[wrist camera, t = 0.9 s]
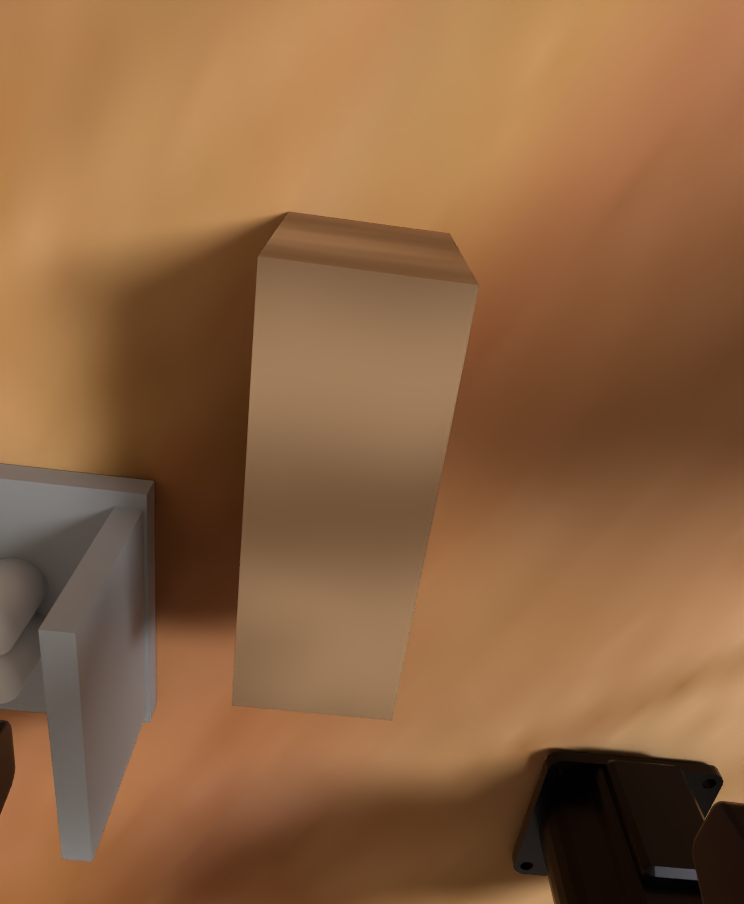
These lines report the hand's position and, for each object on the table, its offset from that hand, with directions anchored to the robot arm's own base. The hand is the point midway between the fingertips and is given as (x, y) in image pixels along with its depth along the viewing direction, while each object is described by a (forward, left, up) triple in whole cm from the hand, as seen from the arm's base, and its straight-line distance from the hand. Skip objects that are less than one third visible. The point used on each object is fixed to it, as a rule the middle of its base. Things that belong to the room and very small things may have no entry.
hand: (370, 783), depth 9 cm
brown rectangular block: (-1, +1, -12) cm, 12 cm away
